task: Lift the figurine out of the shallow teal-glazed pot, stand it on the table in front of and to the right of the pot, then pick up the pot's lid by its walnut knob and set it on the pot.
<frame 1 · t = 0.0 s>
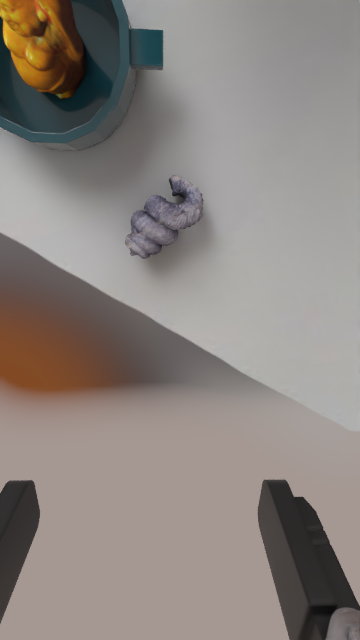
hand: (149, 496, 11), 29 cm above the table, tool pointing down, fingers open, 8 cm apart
pot: (59, 64, 30), on the table
figurine: (58, 63, 29), resting on pot
seashell: (162, 220, 36), on the table
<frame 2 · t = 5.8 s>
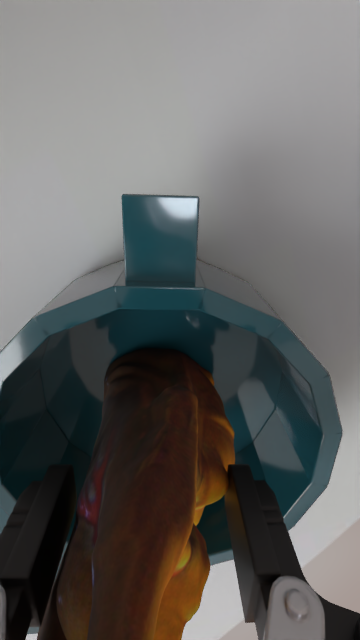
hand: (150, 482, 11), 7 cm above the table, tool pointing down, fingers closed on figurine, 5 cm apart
pot: (162, 385, 18), on the table
figurine: (162, 388, 17), resting on pot, touching gripper
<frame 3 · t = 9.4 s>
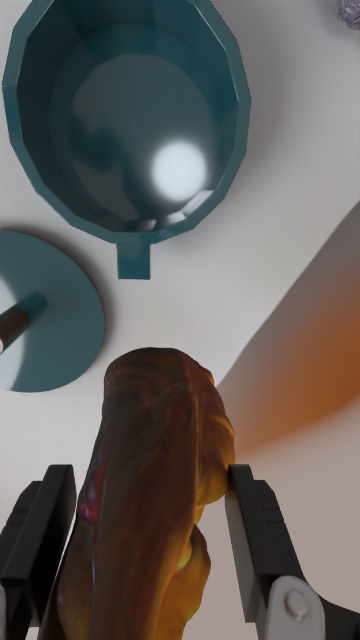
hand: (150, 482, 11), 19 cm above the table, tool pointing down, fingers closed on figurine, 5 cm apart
pot: (137, 136, 24), on the table
figurine: (162, 387, 17), point 13 cm above the table, touching gripper
lid: (18, 318, 28), point 1 cm above the table
when the fingers open (6 cm above the table, at t = 12.9 s): figurine stays where it is, on the table.
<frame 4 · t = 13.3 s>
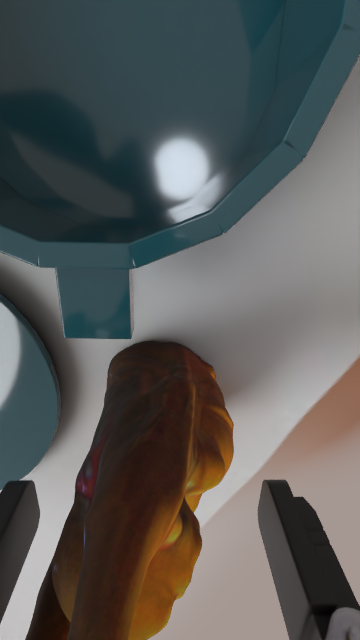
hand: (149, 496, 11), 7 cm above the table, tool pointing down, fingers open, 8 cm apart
pot: (105, 44, 12), on the table
figurine: (164, 382, 18), on the table
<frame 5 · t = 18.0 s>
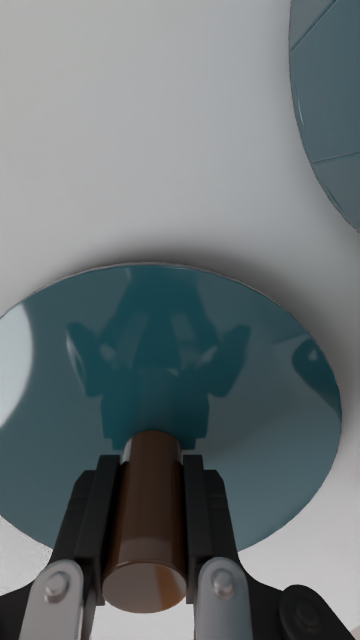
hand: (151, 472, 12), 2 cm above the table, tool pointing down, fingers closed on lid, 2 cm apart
lid: (153, 443, 13), point 1 cm above the table, touching gripper
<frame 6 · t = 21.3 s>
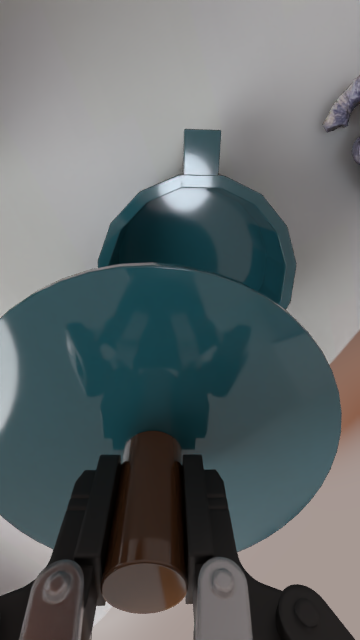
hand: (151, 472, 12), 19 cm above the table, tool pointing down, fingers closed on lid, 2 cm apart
pot: (192, 266, 28), on the table
lid: (153, 443, 13), point 18 cm above the table, touching gripper
when the fingers open (7 cm above the table, at t = 24.8 s): lid stays where it is, resting on pot.
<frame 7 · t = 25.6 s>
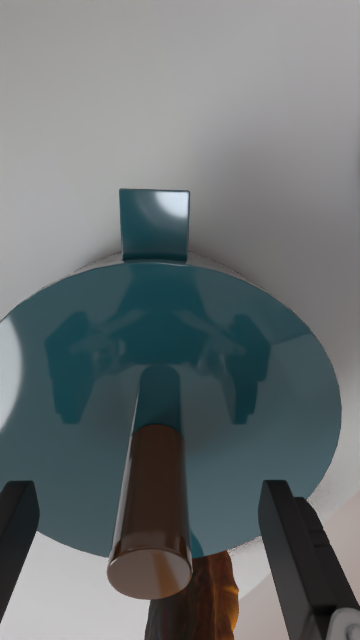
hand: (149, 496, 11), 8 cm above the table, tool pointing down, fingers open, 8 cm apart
pot: (158, 371, 19), on the table
figurine: (188, 535, 24), on the table
lid: (157, 437, 14), point 5 cm above the table, touching pot
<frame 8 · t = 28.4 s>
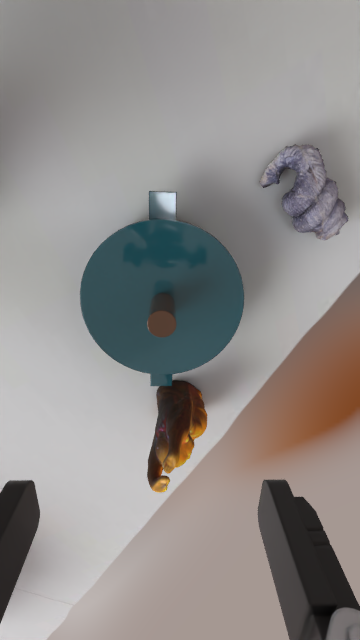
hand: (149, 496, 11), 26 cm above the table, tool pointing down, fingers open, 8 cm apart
pot: (162, 287, 35), on the table
figurine: (179, 397, 41), on the table
lid: (162, 303, 30), point 5 cm above the table, touching pot
seashell: (299, 196, 32), on the table
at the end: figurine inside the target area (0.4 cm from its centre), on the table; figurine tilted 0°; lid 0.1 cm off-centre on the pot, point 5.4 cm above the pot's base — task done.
